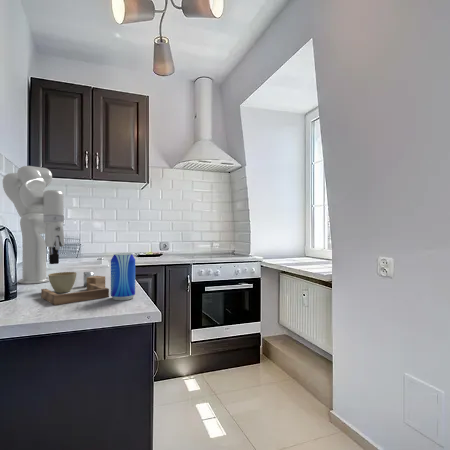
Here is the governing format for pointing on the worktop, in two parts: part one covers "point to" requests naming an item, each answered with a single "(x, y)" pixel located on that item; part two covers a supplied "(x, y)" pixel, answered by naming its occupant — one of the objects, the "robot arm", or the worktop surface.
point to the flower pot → (62, 281)
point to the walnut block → (96, 280)
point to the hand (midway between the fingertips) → (54, 263)
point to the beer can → (122, 276)
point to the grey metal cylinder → (87, 274)
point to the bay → (75, 295)
